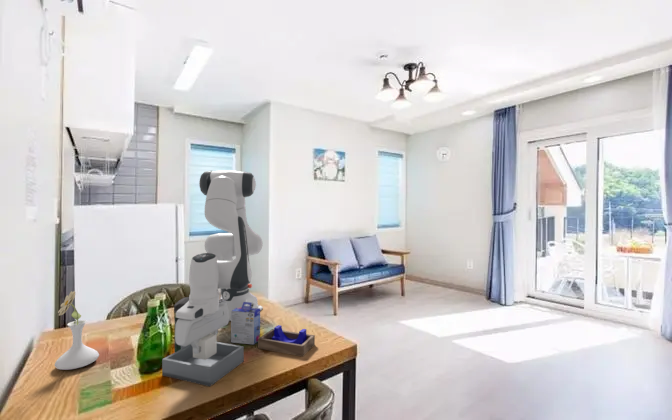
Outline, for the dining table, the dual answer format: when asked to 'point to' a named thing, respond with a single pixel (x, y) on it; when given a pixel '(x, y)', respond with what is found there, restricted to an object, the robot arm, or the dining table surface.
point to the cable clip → (282, 337)
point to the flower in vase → (75, 341)
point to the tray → (202, 364)
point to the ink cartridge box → (245, 324)
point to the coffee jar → (176, 308)
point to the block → (207, 347)
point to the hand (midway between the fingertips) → (204, 348)
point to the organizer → (286, 343)
